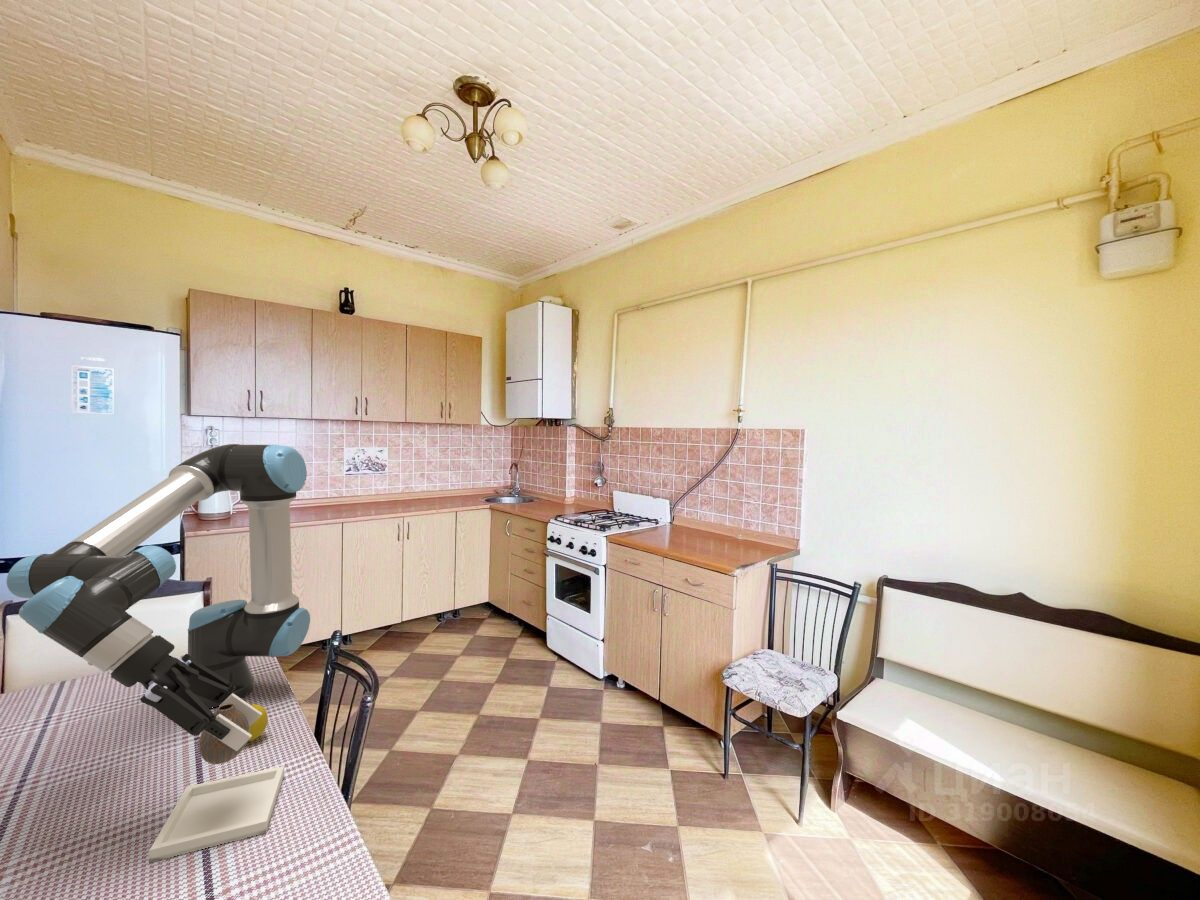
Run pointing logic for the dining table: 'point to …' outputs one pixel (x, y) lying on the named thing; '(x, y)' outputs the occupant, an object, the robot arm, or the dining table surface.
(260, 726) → the lemon
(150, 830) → the dining table surface
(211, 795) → the holder tray
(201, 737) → the vase
